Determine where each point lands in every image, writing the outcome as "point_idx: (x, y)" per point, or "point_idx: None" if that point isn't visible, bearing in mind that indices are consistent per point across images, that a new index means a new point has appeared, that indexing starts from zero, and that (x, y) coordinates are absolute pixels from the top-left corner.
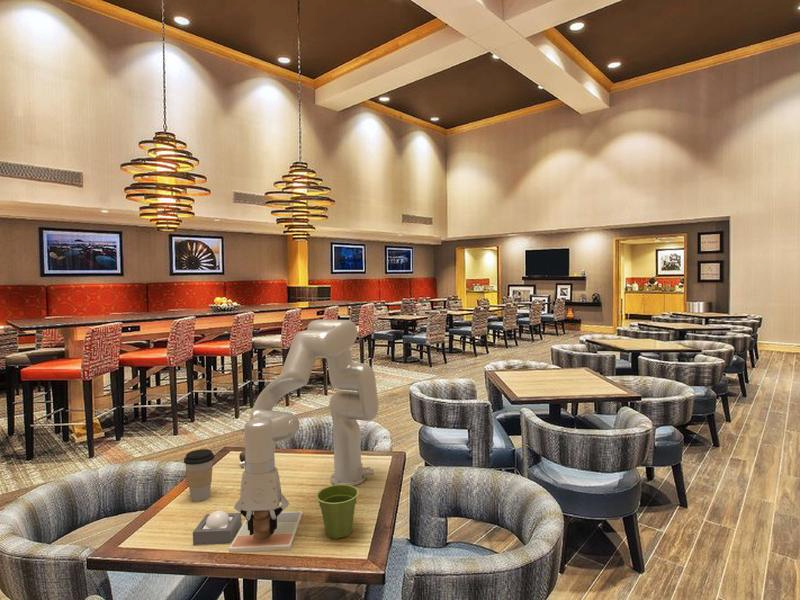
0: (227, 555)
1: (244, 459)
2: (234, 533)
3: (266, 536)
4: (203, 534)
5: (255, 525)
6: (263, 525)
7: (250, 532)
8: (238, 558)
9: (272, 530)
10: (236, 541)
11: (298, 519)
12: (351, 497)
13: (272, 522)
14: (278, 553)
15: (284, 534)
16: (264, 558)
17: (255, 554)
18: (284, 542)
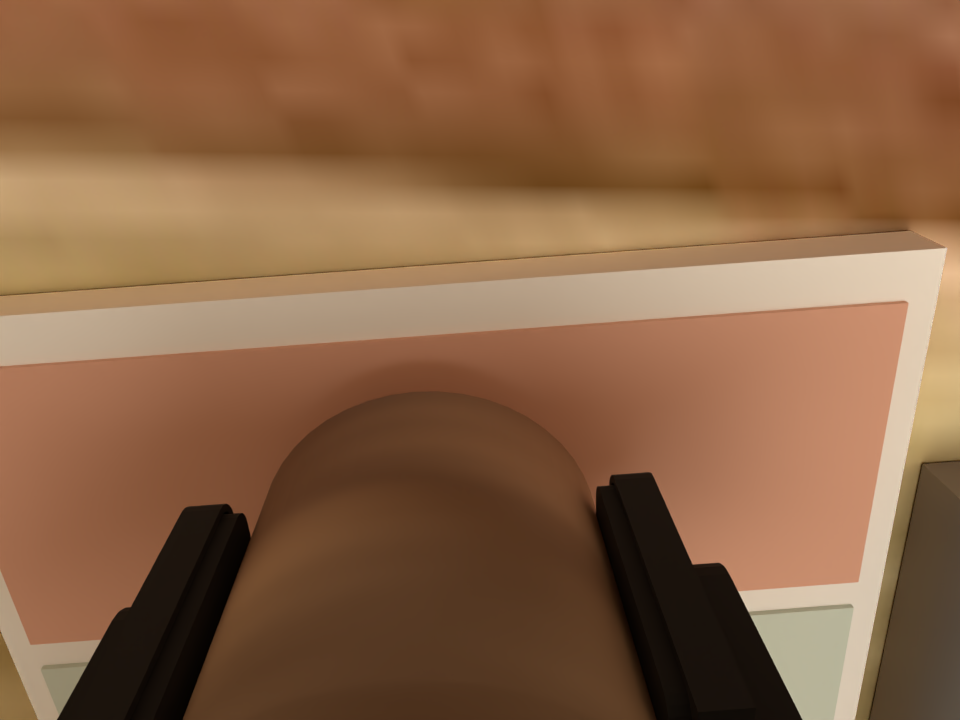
0: (919, 147)
1: None
2: (914, 638)
3: (303, 450)
4: None
5: (536, 592)
6: (306, 594)
7: (644, 501)
8: (713, 50)
9: (164, 551)
10: (852, 442)
11: None
12: None
13: (91, 705)
14: (65, 197)
15: None
16: (244, 42)
17: (453, 172)
18: (28, 417)
